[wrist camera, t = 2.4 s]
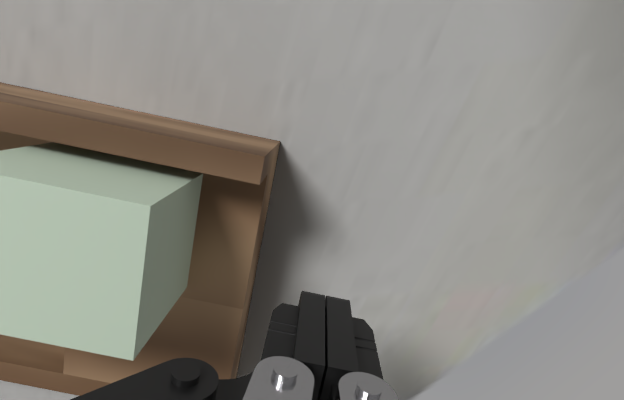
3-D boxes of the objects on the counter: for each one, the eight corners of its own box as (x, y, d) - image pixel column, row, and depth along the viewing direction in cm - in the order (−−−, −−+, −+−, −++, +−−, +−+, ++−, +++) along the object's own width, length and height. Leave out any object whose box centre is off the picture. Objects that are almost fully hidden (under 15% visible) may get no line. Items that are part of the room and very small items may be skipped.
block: (52, 142, 16) (-67, 161, 11) (202, 173, 16) (150, 206, 11) (46, 258, 17) (-63, 321, 12) (186, 287, 17) (133, 360, 12)
